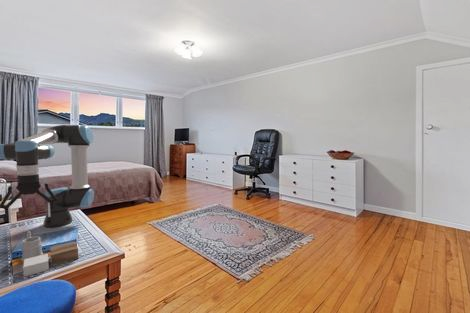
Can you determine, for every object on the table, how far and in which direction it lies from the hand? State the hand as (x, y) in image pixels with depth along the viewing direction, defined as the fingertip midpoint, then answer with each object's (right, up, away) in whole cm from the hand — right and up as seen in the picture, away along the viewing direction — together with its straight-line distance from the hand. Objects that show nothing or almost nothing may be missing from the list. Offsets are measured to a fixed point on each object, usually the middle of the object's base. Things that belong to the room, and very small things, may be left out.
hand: (30, 219), depth 109 cm
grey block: (+9, -20, -7) cm, 23 cm away
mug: (-1, -19, +1) cm, 19 cm away
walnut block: (+14, -19, +2) cm, 24 cm away
